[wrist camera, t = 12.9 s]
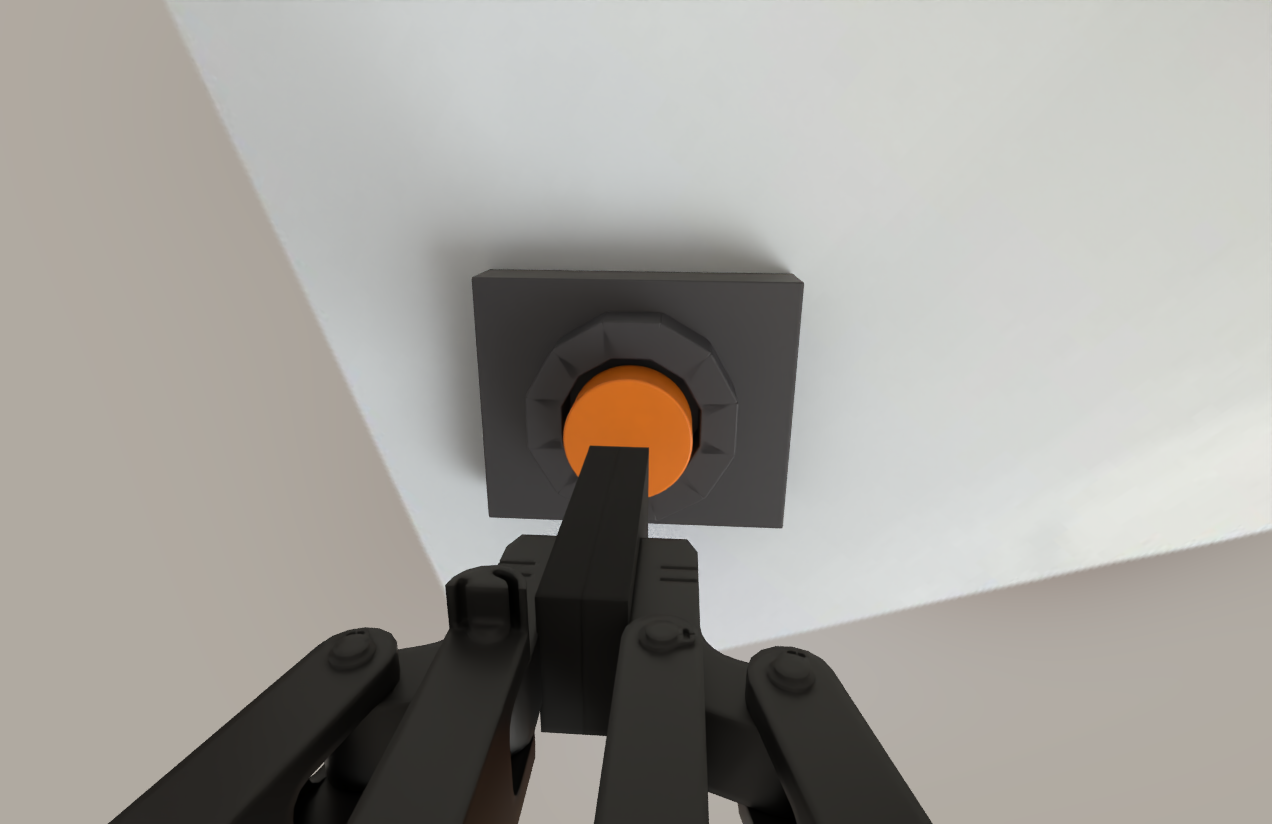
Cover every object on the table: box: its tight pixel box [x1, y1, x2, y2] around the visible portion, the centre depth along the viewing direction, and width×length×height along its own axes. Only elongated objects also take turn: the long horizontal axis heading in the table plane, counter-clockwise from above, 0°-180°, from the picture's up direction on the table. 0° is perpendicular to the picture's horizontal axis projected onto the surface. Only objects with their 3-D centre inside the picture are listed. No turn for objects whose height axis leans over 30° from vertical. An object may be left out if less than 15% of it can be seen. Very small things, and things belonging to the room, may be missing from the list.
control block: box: [472, 269, 804, 528], centre depth 24 cm, size 11×9×4 cm
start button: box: [563, 365, 693, 497], centre depth 21 cm, size 4×4×2 cm
